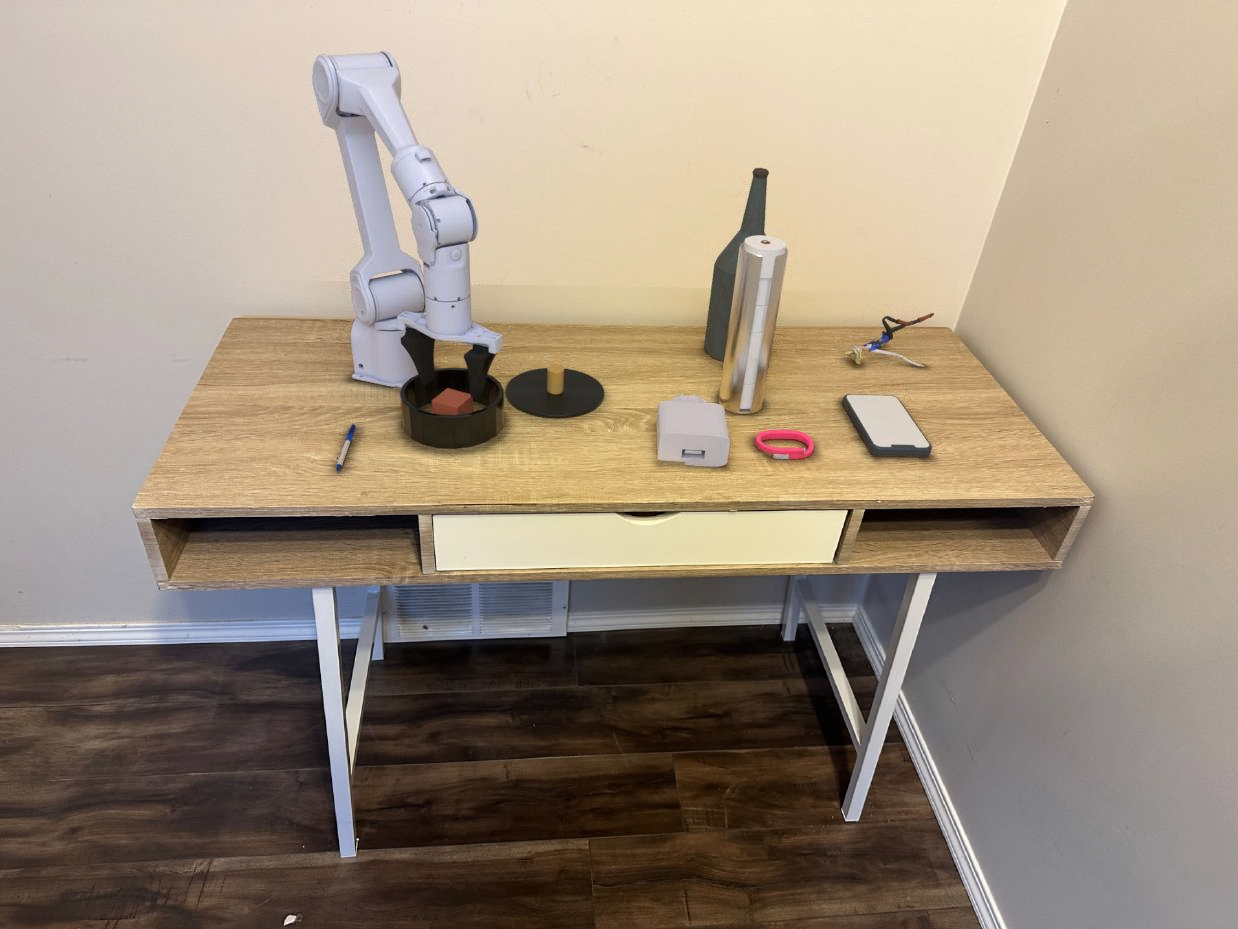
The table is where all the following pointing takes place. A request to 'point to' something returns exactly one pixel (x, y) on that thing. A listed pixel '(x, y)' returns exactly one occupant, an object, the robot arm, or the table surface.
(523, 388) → the tin lid
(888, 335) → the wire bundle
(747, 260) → the silver metal cylinder
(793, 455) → the fitness band
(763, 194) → the bottle
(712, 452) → the charger
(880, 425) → the smartphone
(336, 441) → the table surface
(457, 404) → the block
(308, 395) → the table surface
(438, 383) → the tin
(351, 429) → the ballpoint pen
